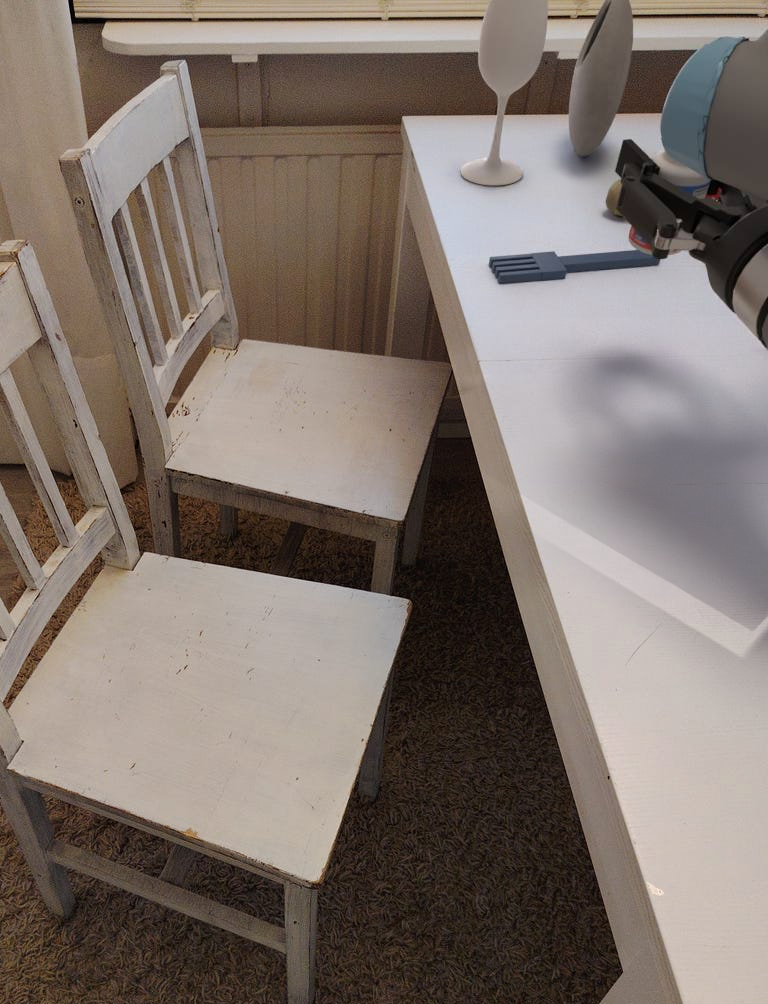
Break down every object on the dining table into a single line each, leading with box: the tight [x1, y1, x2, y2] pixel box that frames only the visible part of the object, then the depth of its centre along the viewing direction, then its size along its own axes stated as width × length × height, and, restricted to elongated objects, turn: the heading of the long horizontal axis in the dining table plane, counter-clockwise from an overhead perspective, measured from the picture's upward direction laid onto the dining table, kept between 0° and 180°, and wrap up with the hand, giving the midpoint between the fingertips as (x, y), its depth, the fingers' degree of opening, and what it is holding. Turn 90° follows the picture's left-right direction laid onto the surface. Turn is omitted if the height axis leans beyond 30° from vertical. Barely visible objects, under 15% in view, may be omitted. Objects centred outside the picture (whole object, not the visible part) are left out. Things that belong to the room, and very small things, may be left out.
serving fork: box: [488, 249, 662, 284], centre depth 98 cm, size 20×5×1 cm, turn 97°
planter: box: [568, 0, 634, 157], centre depth 113 cm, size 18×7×19 cm, turn 165°
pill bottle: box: [628, 148, 711, 256], centre depth 74 cm, size 6×5×10 cm
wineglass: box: [460, 0, 549, 186], centre depth 108 cm, size 9×9×21 cm
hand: (654, 153), depth 76 cm, fingers closed on pill bottle, 5 cm apart
